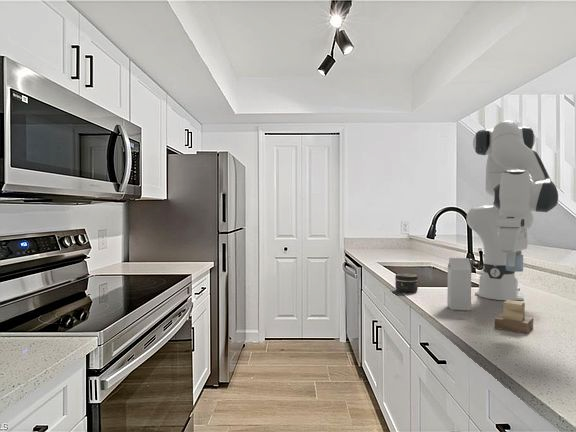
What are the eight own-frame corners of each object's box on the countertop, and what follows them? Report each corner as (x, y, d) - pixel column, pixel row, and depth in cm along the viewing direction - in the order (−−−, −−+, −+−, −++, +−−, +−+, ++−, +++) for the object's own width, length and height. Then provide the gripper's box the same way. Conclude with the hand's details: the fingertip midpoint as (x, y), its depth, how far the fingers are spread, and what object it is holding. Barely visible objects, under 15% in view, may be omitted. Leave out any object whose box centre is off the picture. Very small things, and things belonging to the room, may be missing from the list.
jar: (391, 292, 191) (391, 275, 191) (399, 288, 199) (399, 272, 199) (413, 294, 185) (413, 277, 185) (420, 291, 194) (420, 274, 194)
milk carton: (471, 311, 155) (471, 259, 154) (450, 310, 156) (450, 258, 156) (466, 306, 161) (467, 257, 161) (447, 305, 163) (447, 256, 163)
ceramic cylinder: (507, 269, 136) (507, 253, 136) (524, 270, 132) (524, 254, 132) (504, 270, 132) (504, 254, 132) (521, 272, 129) (521, 255, 129)
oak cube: (507, 315, 136) (507, 299, 136) (524, 317, 133) (524, 302, 133) (503, 318, 132) (503, 302, 132) (521, 321, 129) (521, 304, 129)
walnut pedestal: (501, 322, 139) (502, 313, 139) (533, 327, 133) (533, 317, 133) (494, 328, 132) (494, 318, 132) (527, 333, 126) (527, 323, 126)
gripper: (511, 220, 142) (511, 261, 142) (495, 221, 126) (494, 267, 126) (532, 221, 138) (532, 263, 138) (518, 221, 122) (518, 269, 122)
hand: (514, 265), depth 132 cm, fingers closed on ceramic cylinder, 5 cm apart
